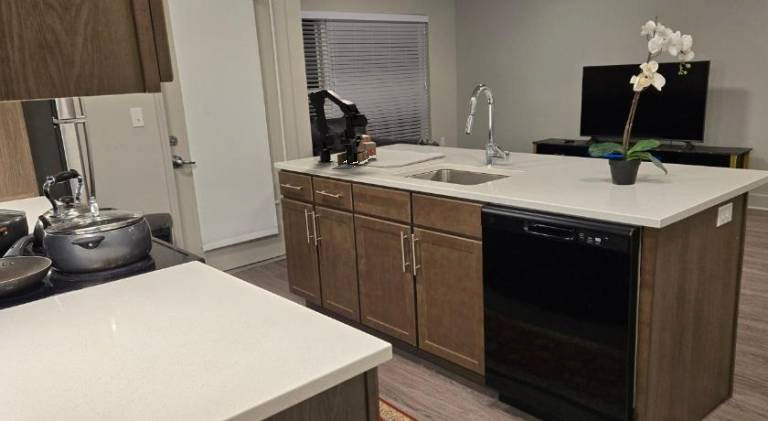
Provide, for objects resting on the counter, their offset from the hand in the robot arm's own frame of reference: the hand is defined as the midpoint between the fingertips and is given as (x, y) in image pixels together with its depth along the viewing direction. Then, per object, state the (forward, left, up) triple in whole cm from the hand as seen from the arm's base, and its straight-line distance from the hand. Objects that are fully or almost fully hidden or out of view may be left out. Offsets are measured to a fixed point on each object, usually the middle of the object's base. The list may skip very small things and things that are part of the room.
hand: (352, 155), depth 315 cm
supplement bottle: (0, 0, -5) cm, 5 cm away
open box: (-1, +1, -5) cm, 5 cm away
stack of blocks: (-15, +21, -5) cm, 26 cm away
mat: (+6, -9, -5) cm, 12 cm away
